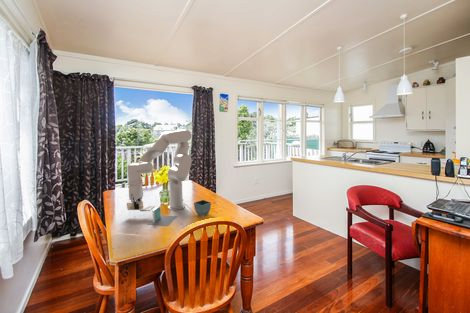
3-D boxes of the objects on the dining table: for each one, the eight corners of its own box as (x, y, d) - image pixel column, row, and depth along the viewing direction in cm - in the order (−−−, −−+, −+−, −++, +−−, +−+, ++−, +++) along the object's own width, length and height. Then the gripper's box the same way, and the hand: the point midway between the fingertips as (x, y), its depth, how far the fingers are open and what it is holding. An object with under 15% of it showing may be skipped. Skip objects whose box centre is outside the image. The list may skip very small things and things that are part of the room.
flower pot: (201, 218, 152) (201, 205, 151) (193, 214, 158) (193, 202, 157) (211, 214, 158) (211, 202, 157) (203, 211, 164) (203, 199, 163)
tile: (158, 217, 152) (158, 206, 151) (160, 217, 151) (160, 206, 150) (152, 222, 144) (152, 210, 143) (155, 222, 144) (154, 210, 143)
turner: (125, 211, 150) (124, 204, 150) (131, 207, 157) (130, 200, 156) (149, 211, 148) (148, 203, 147) (154, 207, 155) (153, 200, 154)
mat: (158, 216, 156) (158, 215, 156) (177, 216, 154) (177, 216, 154) (146, 225, 140) (146, 224, 140) (167, 226, 138) (167, 226, 138)
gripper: (136, 179, 158) (139, 203, 161) (122, 185, 142) (126, 213, 145) (146, 179, 157) (149, 204, 160) (133, 185, 142) (136, 213, 144)
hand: (138, 208), depth 153 cm, fingers closed on turner, 2 cm apart
